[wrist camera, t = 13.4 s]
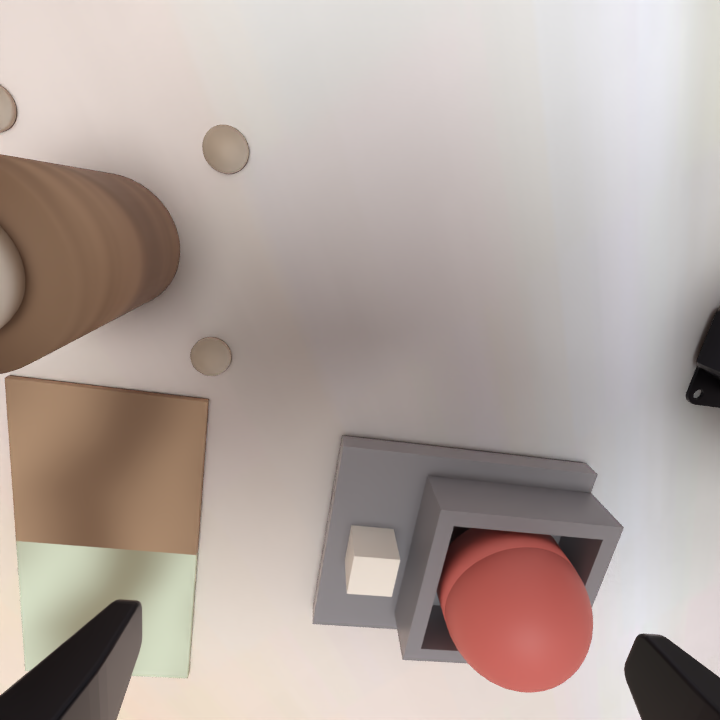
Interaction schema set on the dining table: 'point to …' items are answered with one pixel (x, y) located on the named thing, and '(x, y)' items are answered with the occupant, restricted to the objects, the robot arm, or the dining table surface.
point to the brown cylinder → (75, 254)
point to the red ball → (515, 608)
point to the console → (442, 530)
